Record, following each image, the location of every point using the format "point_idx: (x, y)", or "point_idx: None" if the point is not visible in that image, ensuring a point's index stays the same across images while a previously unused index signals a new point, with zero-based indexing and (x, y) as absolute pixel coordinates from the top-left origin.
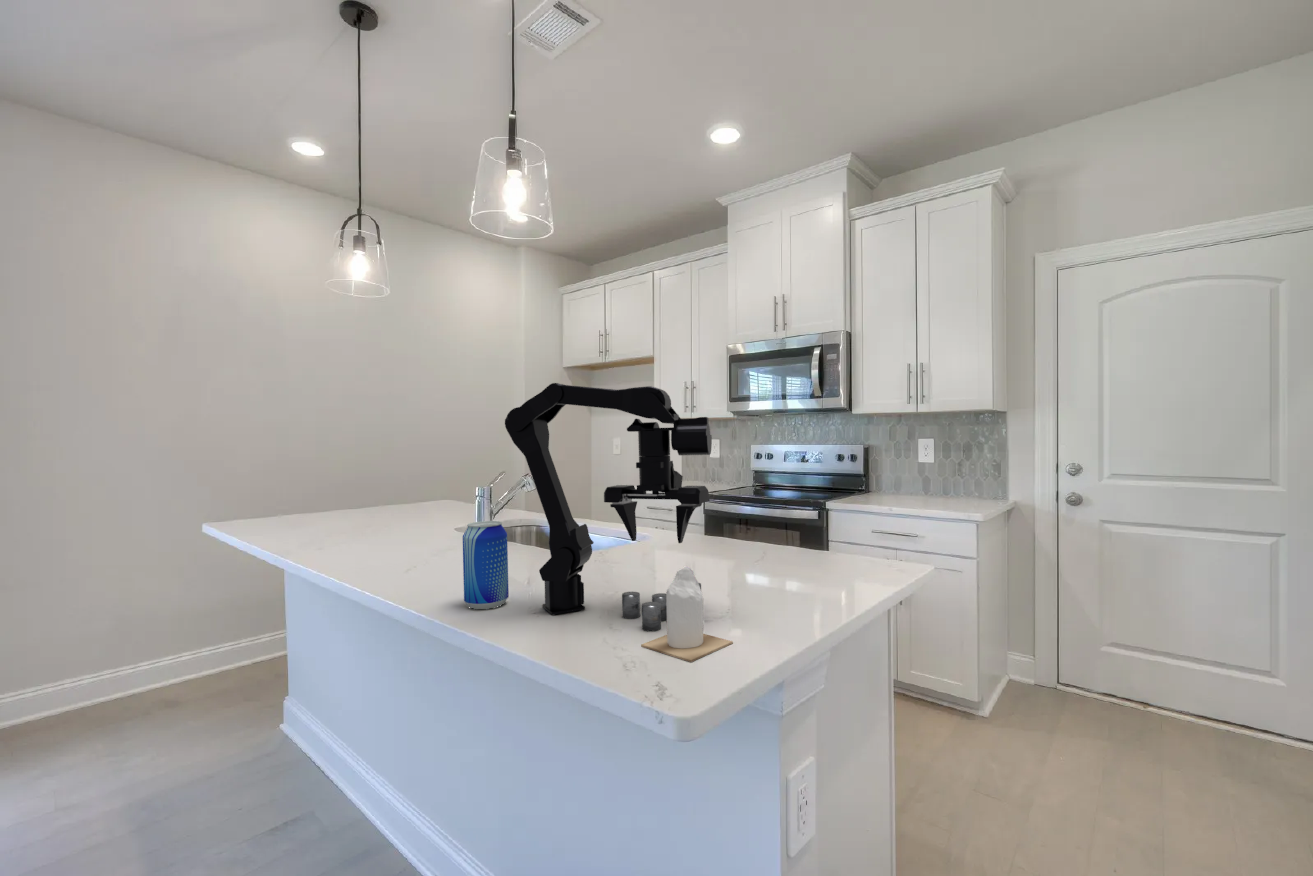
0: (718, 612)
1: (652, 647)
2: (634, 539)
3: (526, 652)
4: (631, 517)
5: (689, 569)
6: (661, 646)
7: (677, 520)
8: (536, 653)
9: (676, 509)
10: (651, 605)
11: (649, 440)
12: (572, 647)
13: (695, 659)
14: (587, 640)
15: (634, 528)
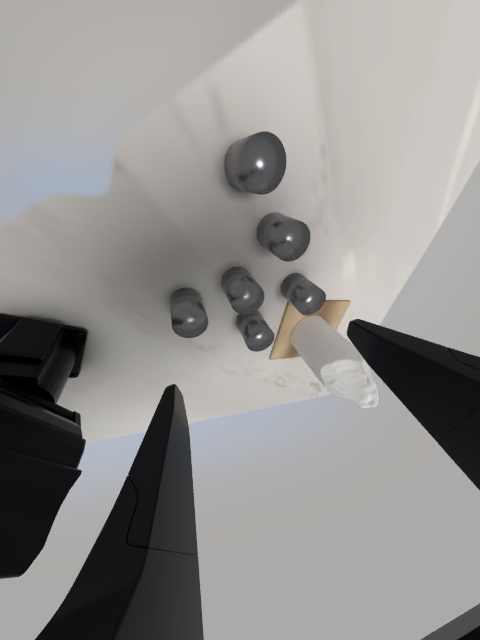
0: (309, 189)
1: (283, 357)
2: (180, 395)
3: (187, 420)
4: (180, 518)
5: (376, 397)
6: (289, 351)
7: (424, 422)
8: (197, 416)
9: (474, 482)
10: (264, 343)
11: None
12: (212, 395)
13: None
14: (210, 380)
15: (179, 438)
